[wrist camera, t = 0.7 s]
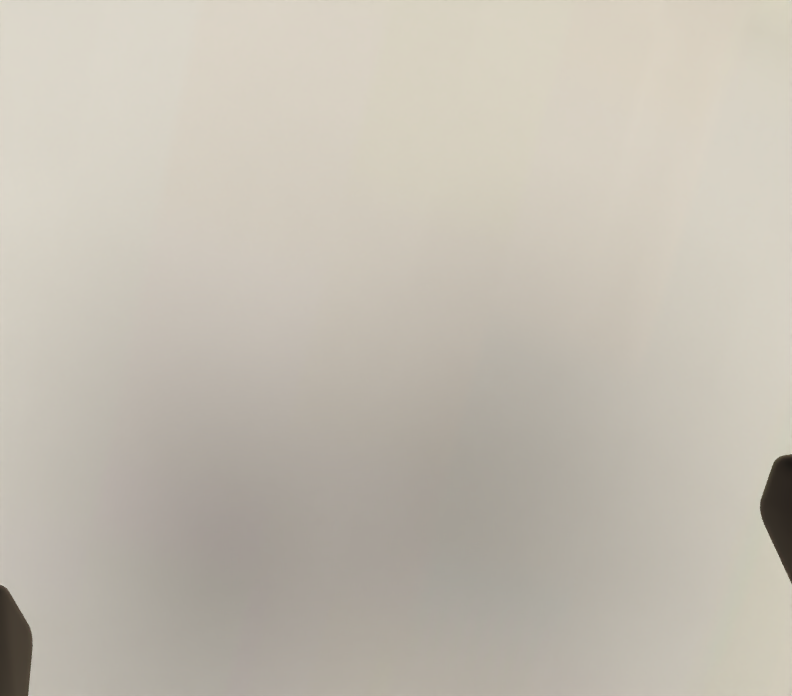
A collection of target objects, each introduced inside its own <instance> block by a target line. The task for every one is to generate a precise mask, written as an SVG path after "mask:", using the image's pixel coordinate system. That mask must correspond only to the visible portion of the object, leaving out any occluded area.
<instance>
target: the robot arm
mask: <svg viewBox="0 0 792 696" xmlns="http://www.w3.org/2000/svg"><path fill="white" fill-rule="evenodd" d="M760 511H761V516H762V520H763V522H764V525H765V527H766V529H767V531H768V533H769V536H770V538H771V540H772V542H773V544H774V546H775V549H776V551H777V553H778V555H779V557H780V559H781V561H782V564H783V566H784V568H785V570H786V572H787V574H788V577H789V579H790V581H791V583H792V454H790V455H784V456H781V457H779V458H778V459H776V460H775V462H774V463H773V466H772V469H771V472H770V474H769V477H768V480H767V483H766V486H765V489H764V492H763V495H762V498H761V502H760ZM32 646H33V644H32V634H31V630H30V627H29V625H28V623H27V621H26V620H25V618H24V616H23V614H22V613H21V611H20V609H19V608H18V606H17V604H16V603H15V601H14V599H13V597H12V596H11V594H10V592H9V591H8V590H7V588H5V587H4V586H2V585H0V696H28V691H29V680H30V670H31V659H32Z"/></svg>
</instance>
